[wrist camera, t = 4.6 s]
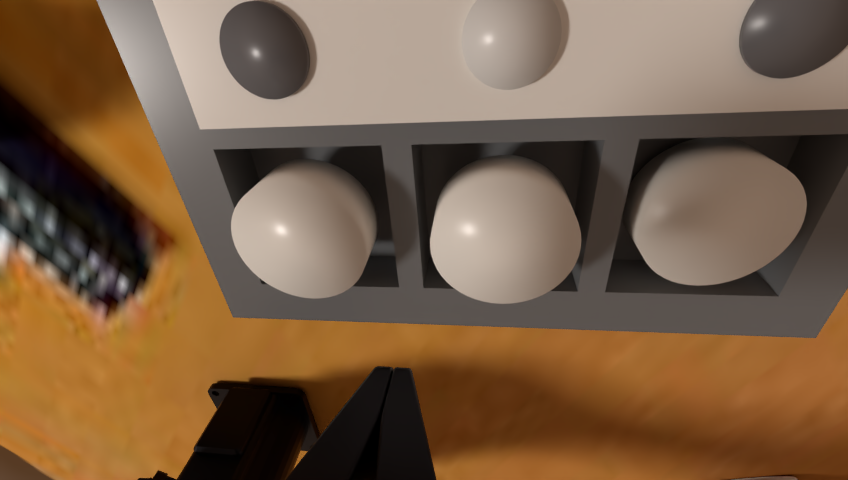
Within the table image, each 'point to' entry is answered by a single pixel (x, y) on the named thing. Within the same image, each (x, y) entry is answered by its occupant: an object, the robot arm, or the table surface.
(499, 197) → the button
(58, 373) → the table surface
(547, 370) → the table surface
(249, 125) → the board
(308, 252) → the button
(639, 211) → the button
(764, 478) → the syrup box
